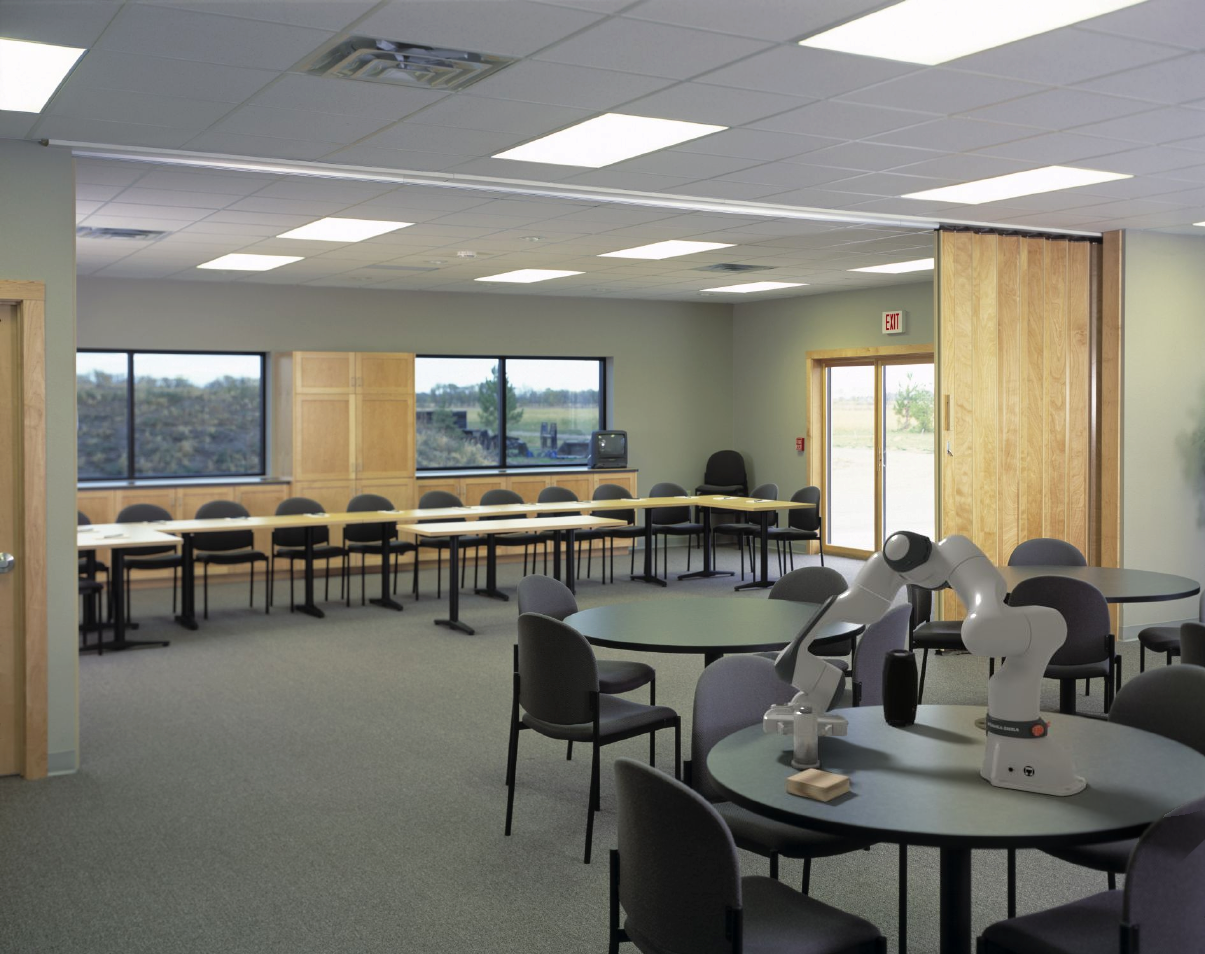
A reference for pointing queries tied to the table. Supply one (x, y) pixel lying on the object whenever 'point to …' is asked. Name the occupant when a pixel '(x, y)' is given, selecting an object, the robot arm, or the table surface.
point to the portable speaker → (900, 687)
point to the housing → (805, 739)
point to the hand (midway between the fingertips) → (804, 732)
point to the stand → (818, 784)
